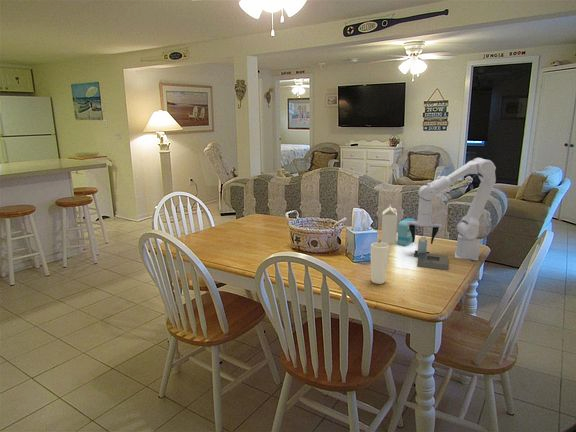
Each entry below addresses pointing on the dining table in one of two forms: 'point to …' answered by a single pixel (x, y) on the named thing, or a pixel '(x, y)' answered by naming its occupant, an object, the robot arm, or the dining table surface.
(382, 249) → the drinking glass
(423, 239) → the plug
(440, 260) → the port block
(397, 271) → the dining table surface
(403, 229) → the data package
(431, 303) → the dining table surface
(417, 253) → the square shadow box
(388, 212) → the milk carton
